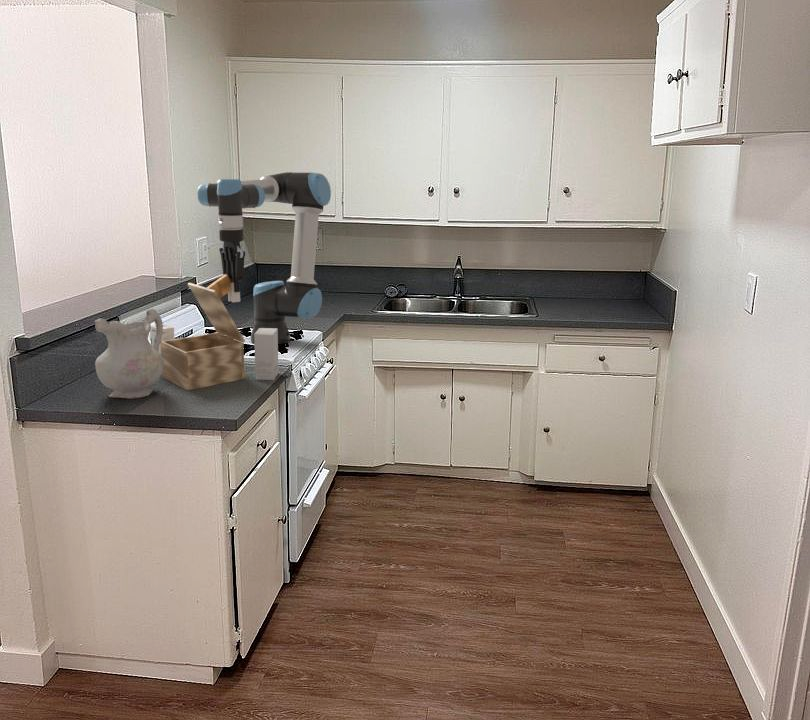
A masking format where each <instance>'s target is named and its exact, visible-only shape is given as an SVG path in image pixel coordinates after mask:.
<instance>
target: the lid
mask: <svg viewBox="0 0 810 720" xmlns="http://www.w3.org/2000/svg"><path fill="white" fill-rule="evenodd" d="M230 281H231V280H230V279H229V277H228V275H226V274H225V275H223V274H222V276H220V277H219V278H218V279H216V280H215V281H213V282H212V283H211V284H209V285H208V286H207V287H205V286H203V285H199V284H195V283H192V282H188V283H187V286H188V288H189V289H190V291H191V293H192V294H193V296H194V297H195V299H196V301H197V302H198V304H199V306H200V308H202V310H203V312H204V314H205V315H206V317H207V318H208V320H209V323H211V325H212V326H213V328H214V330H215V333H219V334H221V335H224V336H226V337H229V338H232V339H234V340H237V341H239V342H242V343H243V344H244V343H245V342H246V340H245V338H244V336H243V335H242V333H241V331H240V329H239V328H238V326H237V325H236V323H235V321H234V319H233V318H232V317H231V315H230V313H229V311H228V310H227V308H226V306H225V304H224V302H223V301H222V299H221V298H223V297H224V296H225V295H228V292H229V291H231V282H230Z"/></svg>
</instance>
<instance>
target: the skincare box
mask: <svg viewBox="0 0 810 720" xmlns="http://www.w3.org/2000/svg"><path fill="white" fill-rule="evenodd" d="M254 343H255V344H254ZM254 343H253V344H254V370H255V371H254V372H255V373H254V374H255V377H254V378H255V381H256V380H257V381H275V379H276V378H277V376H278V374H279V345H278V329H277V328H259V329H258V330H257V331H256V333H255V334H254Z"/></svg>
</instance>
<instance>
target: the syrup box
mask: <svg viewBox="0 0 810 720" xmlns="http://www.w3.org/2000/svg"><path fill="white" fill-rule="evenodd" d="M155 335H156V325H155V326H151V329H150V332H149V336H150V337H149V338H150V346H151V347H152V348H153V344H154V338H155ZM174 339H176V338H175V328H174V327H173V326H171V325H168V324H163V332H162V339H161V341H167V340H174ZM158 350H159V353H160V354H161V347H160V344H159V349H158Z"/></svg>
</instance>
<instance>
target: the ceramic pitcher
mask: <svg viewBox="0 0 810 720" xmlns="http://www.w3.org/2000/svg"><path fill="white" fill-rule="evenodd" d="M157 311H158V310H156V309H154V308H151V309H147V310H146V316H145V317H144V319H143V320H142V321H140V320H139V321H131V322H129V323H126V324H125V323H123V322H120V321H117V320H113V321H109V322H108V321H107V320H106V319H105V318H104V319H103V318H97V319H95V320H94V324H95V325H94V326H95V330H96V332H97V333H101V334H104V335H105V337H106V340H107V343H108V345H107V348H106V349H105V350H104V351H103V353H101V354H100V355H99V356H98V357H97V358H96V359H95V364H94V366H95V372H96V376H97V377H98V379H99V381H100V382H101V383H102V385H103V386H104V387H106V388H108V389H111V390H113V391H112V393H110V394H109V395H108V397H109V398H117V399H118V398H121V399H129V400H133V399H140V398H146V397H145V396H147V397H148V396H149V395H151V394H152V393H153V392H154V391H153V389H152V388H151V387H152V386H154V385H156V384H157V383H158V381H159V380H160V379H161V377H162V376H163V370H164V360H163V357H162V355H161V354H160V353H159V350H158V349H159V344H160V342H161V339H162V332H163V325H164V324H163V323H164V322H163V319H162V317H161V315H159V313H158V312H157ZM152 323H155V326H156V335H155V338H154V344H153V348H152V347H151V344H150V343H149V336H150V329H151V327H152Z"/></svg>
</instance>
